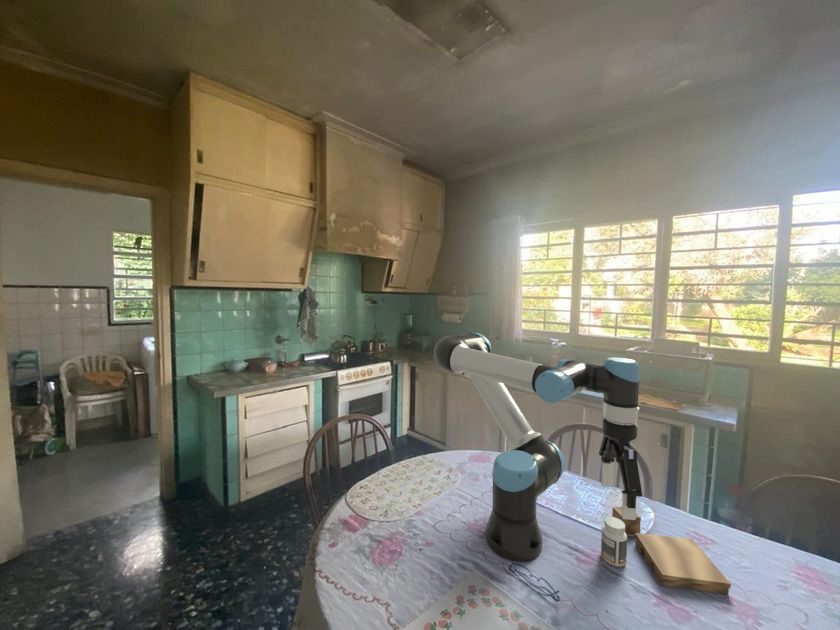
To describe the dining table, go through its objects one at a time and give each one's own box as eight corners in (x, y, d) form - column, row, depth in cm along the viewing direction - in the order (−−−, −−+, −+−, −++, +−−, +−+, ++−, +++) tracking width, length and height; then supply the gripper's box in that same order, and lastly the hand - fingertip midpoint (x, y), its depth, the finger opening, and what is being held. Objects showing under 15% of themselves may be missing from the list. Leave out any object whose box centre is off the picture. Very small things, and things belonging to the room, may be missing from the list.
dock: (661, 586, 79) (662, 574, 79) (634, 543, 93) (635, 532, 93) (729, 596, 77) (730, 583, 76) (691, 549, 90) (692, 539, 90)
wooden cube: (623, 535, 96) (624, 518, 96) (611, 523, 101) (612, 507, 101) (639, 534, 96) (640, 517, 96) (627, 522, 101) (628, 506, 101)
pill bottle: (619, 551, 90) (621, 515, 89) (630, 568, 84) (632, 531, 84) (597, 549, 90) (598, 514, 90) (606, 566, 85) (608, 529, 84)
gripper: (662, 442, 72) (658, 537, 73) (616, 404, 96) (613, 476, 98) (624, 440, 73) (621, 533, 74) (588, 403, 98) (586, 474, 99)
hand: (617, 501), depth 86 cm, fingers open, 13 cm apart
